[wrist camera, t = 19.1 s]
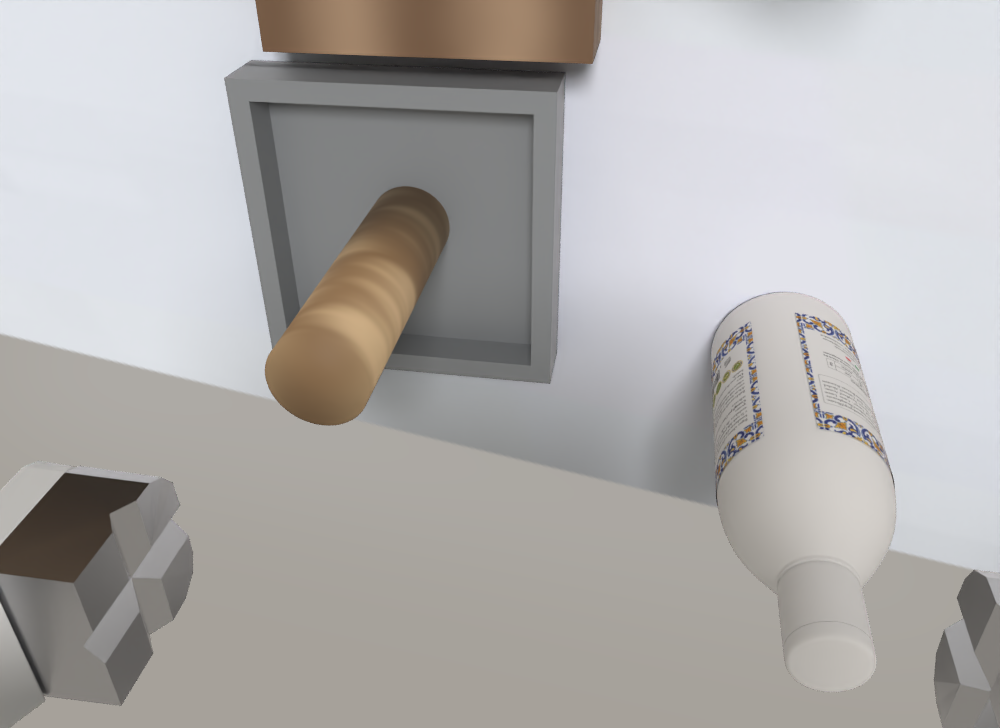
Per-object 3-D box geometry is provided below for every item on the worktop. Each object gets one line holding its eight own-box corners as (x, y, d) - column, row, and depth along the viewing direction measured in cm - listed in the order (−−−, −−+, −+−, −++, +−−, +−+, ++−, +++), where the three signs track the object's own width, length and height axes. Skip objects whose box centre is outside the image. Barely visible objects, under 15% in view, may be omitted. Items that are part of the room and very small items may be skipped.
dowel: (447, 188, 43) (363, 341, 32) (451, 262, 46) (373, 430, 34) (368, 183, 44) (257, 332, 32) (375, 257, 46) (273, 420, 35)
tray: (565, 72, 40) (557, 92, 38) (556, 352, 49) (550, 383, 46) (251, 60, 43) (224, 78, 40) (294, 330, 51) (274, 358, 48)
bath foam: (723, 410, 49) (741, 735, 32) (699, 301, 45) (705, 602, 29) (858, 391, 47) (950, 728, 30) (843, 275, 43) (938, 584, 27)
